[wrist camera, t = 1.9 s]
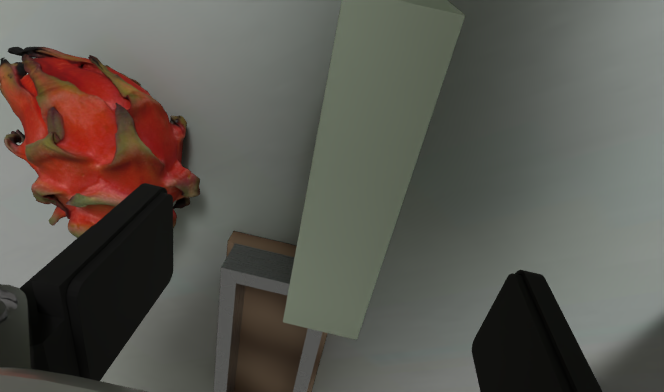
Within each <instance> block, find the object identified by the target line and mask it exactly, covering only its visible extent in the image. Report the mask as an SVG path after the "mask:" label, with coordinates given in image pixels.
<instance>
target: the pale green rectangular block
mask: <svg viewBox="0 0 664 392" xmlns="http://www.w3.org/2000/svg"><path fill="white" fill-rule="evenodd" d="M464 18H465V15H464V14H463V13H462V12H461V11H459V10H458V9H457V8H456V7H455V6H454V5H452V4H451V3H450V2H449V1H448V0H342V2H341V7H340V13H339V18H338V23H337V29H336V34H335V40H334V45H333V51H332V56H331V62H330V67H329V73H328V78H327V83H326V89H325V94H324V100H323V105H322V111H321V116H320V122H319V127H318V133H317V138H316V143H315V149H314V154H313V160H312V165H311V171H310V176H309V182H308V187H307V192H306V198H305V203H304V209H303V214H302V220H301V225H300V231H299V236H298V242H297V247H296V252H295V258H294V263H293V269H292V274H291V280H290V285H289V291H288V296H287V302H286V307H285V312H284V318H283V322H284V323H288V324H292V325H296V326H300V327H304V328H309V329H313V330H317V331H321V332H325V333H329V334H333V335H338V336H342V337H346V338H350V339H354V340H357V338H358V335H359V332H360V329H361V326H362V323H363V320H364V317H365V314H366V311H367V308H368V305H369V302H370V299H371V296H372V293H373V290H374V287H375V284H376V281H377V278H378V275H379V272H380V269H381V266H382V263H383V260H384V257H385V254H386V251H387V248H388V245H389V242H390V239H391V236H392V233H393V230H394V227H395V224H396V221H397V218H398V215H399V213H400V210H401V207H402V204H403V201H404V198H405V195H406V192H407V189H408V186H409V183H410V180H411V177H412V174H413V171H414V168H415V165H416V162H417V159H418V156H419V153H420V150H421V147H422V144H423V141H424V138H425V135H426V132H427V129H428V126H429V123H430V120H431V117H432V114H433V111H434V108H435V105H436V102H437V99H438V96H439V93H440V90H441V87H442V84H443V81H444V78H445V75H446V72H447V69H448V66H449V63H450V60H451V57H452V54H453V51H454V48H455V45H456V42H457V39H458V36H459V33H460V30H461V27H462V24H463V21H464Z"/></svg>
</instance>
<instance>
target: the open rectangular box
mask: <svg viewBox="0 0 664 392" xmlns="http://www.w3.org/2000/svg"><path fill="white" fill-rule="evenodd" d="M296 247H297V246H295V245H291V244H287V243H282V242H278V241H274V240H270V239H266V238H261V237H257V236H253V235H249V234H245V233H240V232H236V231H233V233H232V235H231V237H230V238H229V240H228V244H227V258H226V260H225V262H224V264H223V265H222V267H221V279H220V295H219V312H218V328H217V345H216V361H215V378H214V392H312V388H313V384H314V381H315V377H316V373H317V370H318V366H319V362H320V359H321V355H322V351H323V348H324V344H325V340H326V337H327V333H325V332H321V331H317V330H313V329H309V328H304V327H300V326H296V325H292V324H288V323H284V322H283V318H284V312H285V307H286V302H287V296H288V291H289V285H290V280H291V274H292V269H293V263H294V258H295V252H296Z"/></svg>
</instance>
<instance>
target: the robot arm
mask: <svg viewBox="0 0 664 392" xmlns="http://www.w3.org/2000/svg"><path fill="white" fill-rule="evenodd" d="M172 274H173V197H172V195H171V194H168V193H167V189H166V188H164V187H160V186H156V185H151V184H147V183H143V184H141V185H140V186H139V187H138V188H136V189H135V190H134V191H133V192H132V193H131V194H129V195H128V196H127V197H126V198H125V199H124V200H123V201H121V202H120V203H119V204H118V205H117V206H116V207H114V208H113V209H112V210H111V211H110V212H109V213H108V214H106V215H105V216H104V217H103V218H102V219H101V220H99V221H98V222H97V223H96V224H94V225H93V226H91V227H90V228H89V229H88V230H87V231H85V232H84V233H83V234H82V235H81V236H80V237H78V238H77V239H76V240H75V241H74V242H73V243H72V244H70V245H69V246H68V247H67V248H66V249H65V250H63V251H62V252H61V253H60V254H59V255H58V256H56V257H55V258H54V259H53V260H52V261H51V262H50V263H48V264H47V265H46V266H45V267H44V268H43V269H41V270H40V271H39V272H38V273H37V274H36V275H34V276H33V277H32V278H31V279H30V280H29V281H28V282H26V283H25V284H24V285H23V286H22V287H21V288H17V287H14V286H11V285H1V284H0V392H147V391H143V390H138V389H134V388H129V387H124V386H119V385H115V384H110V383H105V382H101V381H100V380H101V379H102V377H103V376H104V374H105V373H106V371H107V370H108V369H109V367H110V366H111V364H112V363H113V361H114V360H115V359H116V357H117V356H118V354H119V353H120V351H121V350H122V349H123V347H124V346H125V344H126V343H127V342H128V340H129V339H130V337H131V336H132V334H133V333H134V332H135V330H136V329H137V327H138V326H139V324H140V323H141V322H142V320H143V319H144V317H145V316H146V314H147V313H148V312H149V310H150V309H151V307H152V306H153V305H154V303H155V302H156V300H157V299H158V297H159V296H160V295H161V293H162V292H163V290H164V289H165V287H166V286H167V285H168V283H169V281H170V279H171V277H172ZM472 355H473V359H474V364H475V368H476V373H477V378H478V382H479V387H480V391H481V392H602V390H601V388H600V386H599V384H598V382H597V380H596V378H595V376H594V374H593V372H592V370H591V368H590V366H589V364H588V362H587V360H586V359H585V357H584V355H583V353H582V351H581V349H580V347H579V345H578V343H577V341H576V339H575V337H574V335H573V333H572V331H571V329H570V327H569V325H568V323H567V321H566V319H565V317H564V315H563V313H562V311H561V309H560V307H559V305H558V303H557V301H556V299H555V297H554V295H553V293H552V291H551V289H550V287H549V285H548V283H547V282H546V280H545V278H544V276H543V275H540V274H536V273H532V272H528V271H523V270H519V271H517V272H516V273H515V274H510V275H509V276H508V277H507V279H506V281H505V283H504V285H503V287H502V288H501V290H500V292H499V294H498V296H497V298H496V300H495V301H494V303H493V305H492V307H491V309H490V311H489V313H488V314H487V316H486V318H485V320H484V322H483V324H482V326H481V327H480V329H479V331H478V333H477V335H476V337H475V339H474V341H473V344H472Z"/></svg>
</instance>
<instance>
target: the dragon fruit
mask: <svg viewBox="0 0 664 392" xmlns="http://www.w3.org/2000/svg"><path fill="white" fill-rule="evenodd" d="M8 52H9V53H11V54H15V55H19V56H22V61H23V62H16V63H13V64H10V63H9V62H8V61H7V60H6V59H4V58H2V59H1V65H0V83H1V85H0V90H1V93H2V94H3V96H4V97H5V98H6V100H7V101H8V103H9V104H10V106H11V108H12V110H13V112H14V113H15V114H16V115H17V116H18V117H19V119H20V120H21V123H22V125H23V128H24V131H25V135H23V134H22V133H21V132H20V131H19V130H17V131H16V132H14V131H12V132H11V134H8V135H6V137H5V139H4V143H5V145H6V147H7V148H8V149H9V150H10V151H11V152H13V153H14V154H15V155H17V156H18V157H20V158H22V159H24V160H26V161H27V162H28V163H29V164H30V166H31V167H32V168H33V169H35V171H36V172H37V174H38V175H39V177H38V179H37V180H36V181H35V183H34V184H33V185H32V188H31V189H32V192H33V195H34V197H35V198H36V201H38V202H41V203H44V204H50V203H52V204H54V205H56V206H57V207H56V209H55V211H54V213H53V215H52V217H51V218H50V219H49V223H50V224H51V225H55V224H56V222H58V220H59V219H61V218H63V217H66V216H67V218H68V219H70V220H69V223H68V230H69V232H70V233H71V234H73V235H74V236H75V237H77V238H78V237H80V236H81V235H82V234H83V233H84V232H85V231H87V230H88V229H89V228H90V227H91V226H93V225H94V224H96V223H97V222H98V221H99V220H101V219H102V218H103V217H104V216H105V215H106V214H108V213H109V212H110V211H111V210H112V209H113V208H114V207H116V206H117V205H118V204H119V203H120V202H121V201H123V200H124V199H125V198H126V197H127V196H128V195H129V194H131V193H132V192H133V191H134V190H135V189H136V188H138V187H139V186H140V185H141V184H143V183H147V184H151V185H156V186H160V187H164V188H166V189H167V193H168V194H171V195H172V197H173V202H174V201H176V200H177V201H176V203H175V205H174V207H173V228H174V227H175V224H176V219H177V216H176V213H175V211H174V208H183V207H185V206H188V205H189V204H190V197H196V196H199V195H200V189H199V183H200V179H199V178H198V177H197V176H196V175H194V174H193V173H191V171H189V170H188V169H186V168H184V167H183V166H182V165H181V160H182V149H183V139H184V138H185V134H186V126H187V122H186V121H185V119H184V118H183V117H182V116H180V115H179V116H170V117H171V121H170V122H169V118H168V115H167V113H166V112H165V111H164V109H163V107H162V106H161V104H160V103H159V102H157V101H156V100H155V99H153V98H152V97H151V96H150V94H149V93H148V91H146V90H144V89H143V88H142V87H140V84H139V83H138V82H137V81H135V80H133V79H130V78H128V77H127V76H125V75H123V74H121V73H119V72H117V71H115V70H113V69H111V68H110V67H109V66H107V65H106V66H104V65H103V64H102V63H101V62H100V61H99V60H98V59H97V58H96V57H93V56H91V55H89V56H90V57H88V58H89V59H86V58H80V57H75V56H71V55H68V54H64V53H61V52H59V51H57V50H54V49H50V48H46V47H27V48H25V49H24V50H23V49H22V48H20V47H12V48H9V49H8ZM32 57H35V58H32ZM3 59H4V60H3ZM27 73H29V74H28V75H26V74H27ZM18 142H19V143H21V142H23V143H22V144H21V145H17V144H16V143H18Z"/></svg>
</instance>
